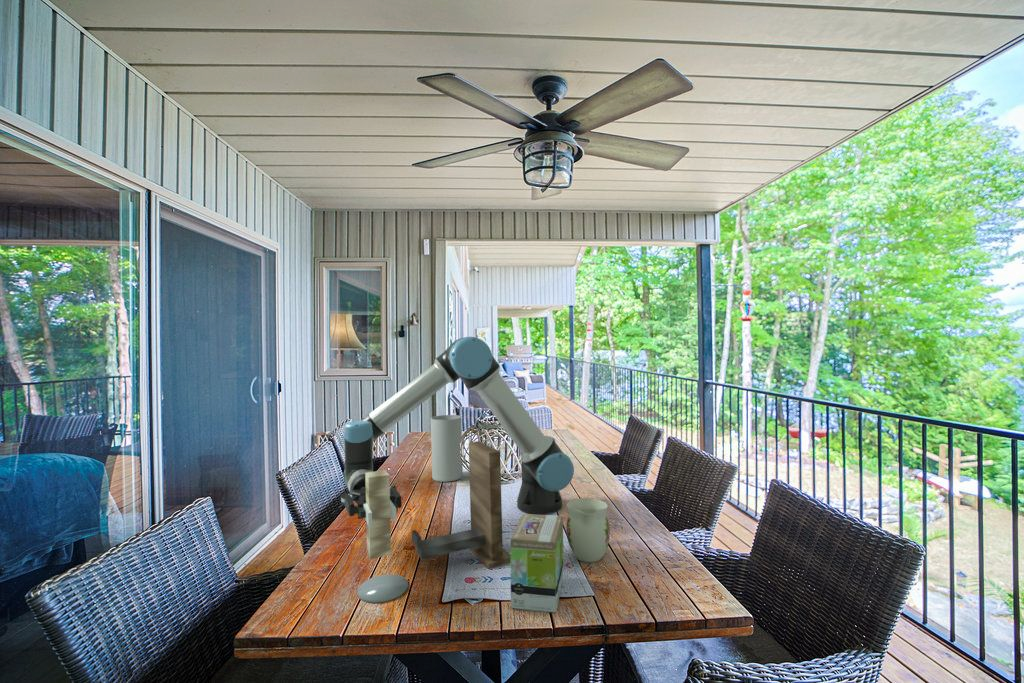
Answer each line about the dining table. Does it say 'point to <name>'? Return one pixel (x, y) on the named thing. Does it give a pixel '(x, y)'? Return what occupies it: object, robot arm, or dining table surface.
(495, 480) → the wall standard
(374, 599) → the slate coaster
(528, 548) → the tea box
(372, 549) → the cedar rail
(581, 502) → the pitcher
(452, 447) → the cylinder vase
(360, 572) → the dining table surface
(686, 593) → the dining table surface
